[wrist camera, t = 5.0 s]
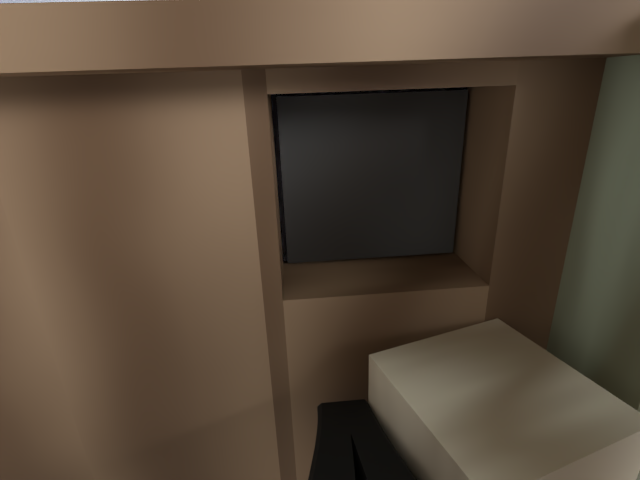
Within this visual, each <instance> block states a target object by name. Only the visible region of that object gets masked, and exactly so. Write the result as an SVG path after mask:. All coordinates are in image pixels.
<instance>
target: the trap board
mask: <svg viewBox="0 0 640 480" xmlns="http://www.w3.org/2000/svg"><path fill="white" fill-rule="evenodd" d="M453 87H467V90H442V91H416V92H389V93H362V94H335V95H308V96H281V97H276V99H277V114H278V128H279V143H280V157H281V172H282V186H283V201H284V215H285V230H286V245H287V259H288V261H283V253H282V239H281V225H280V212H279V198H278V185H277V171H276V157H275V144H274V130H273V116H272V103H271V94H290V93H317V92H344V91H372V90H399V89H426V88H453ZM497 318H498V319H500V320H501V321H503V322H504V323H506V324H507V325H509V326H510V327H512V328H513V329H515V330H516V331H518V332H519V333H521V334H522V335H524V336H525V337H527V338H528V339H530V340H531V341H533V342H534V343H536V344H537V345H539V346H540V347H542V348H543V349H545V350H546V351H548V352H549V353H551V354H552V355H554V356H555V357H557V358H558V359H560V360H561V361H563V362H564V363H566V364H567V365H569V366H570V367H572V368H573V369H575V370H576V371H578V372H580V373H581V374H583V375H584V376H586V377H587V378H589V379H590V380H592V381H593V382H595V383H596V384H598V385H599V386H601V387H602V388H604V389H605V390H607V391H608V392H610V393H611V394H613V395H614V396H616V397H617V398H619V399H620V400H622V401H623V402H625V403H626V404H628V405H629V406H631V407H632V408H634V409H635V410H637V411H638V412H640V0H147V1H98V2H49V3H0V480H308V478H309V473H310V468H311V463H312V458H313V453H314V448H315V441H316V434H317V424H318V413H317V406H319V405H320V404H321V403H326V402H337V401H349V400H360V399H365V400H366V401H367V402H368V388H369V355H370V354H373V353H377V352H380V351H384V350H387V349H391V348H394V347H398V346H402V345H405V344H409V343H412V342H416V341H419V340H423V339H426V338H430V337H433V336H437V335H440V334H444V333H447V332H451V331H454V330H458V329H461V328H465V327H468V326H472V325H475V324H479V323H483V322H486V321H490V320H493V319H497ZM636 480H640V471H639V473H638V476H637V479H636Z"/></svg>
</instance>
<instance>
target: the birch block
mask: <svg viewBox="0 0 640 480" xmlns="http://www.w3.org/2000/svg"><path fill="white" fill-rule="evenodd" d="M368 404H369V405H370V407H371V409H372V411H373V413H374V415H375V416H376V418H377V420H378V422H379V423H380V425H381V427H382V428H383V430H384V432H385V433H386V435H387V436H388V438H389V440H390V441H391V443H392V444H393V446H394V447H395V449H396V450H397V452H398V453H399V455H400V456H401V458H402V459H403V460H404V462H405V463H406V465H407V466H408V468H409V469H410V470H411V472H412V473H413V475H414V476H415V477H416V479H417V480H636V479H637V476H638V473H639V471H640V412H638V411H637V410H635V409H634V408H632V407H631V406H629V405H628V404H626V403H625V402H623V401H622V400H620V399H619V398H617V397H616V396H614V395H613V394H611V393H610V392H608V391H607V390H605V389H604V388H602V387H601V386H599V385H598V384H596V383H595V382H593V381H592V380H590V379H589V378H587V377H586V376H584V375H583V374H581V373H580V372H578V371H576V370H575V369H573V368H572V367H570V366H569V365H567V364H566V363H564V362H563V361H561V360H560V359H558V358H557V357H555V356H554V355H552V354H551V353H549V352H548V351H546V350H545V349H543V348H542V347H540V346H539V345H537V344H536V343H534V342H533V341H531V340H530V339H528V338H527V337H525V336H524V335H522V334H521V333H519V332H518V331H516V330H515V329H513V328H512V327H510V326H509V325H507V324H506V323H504V322H503V321H501V320H500V319H498V318H497V319H493V320H490V321H486V322H483V323H479V324H475V325H472V326H468V327H465V328H461V329H458V330H454V331H451V332H447V333H444V334H440V335H437V336H433V337H430V338H426V339H423V340H419V341H416V342H412V343H409V344H405V345H402V346H398V347H394V348H391V349H387V350H384V351H380V352H377V353H373V354H370V355H369V388H368Z"/></svg>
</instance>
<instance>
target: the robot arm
mask: <svg viewBox="0 0 640 480" xmlns="http://www.w3.org/2000/svg"><path fill="white" fill-rule="evenodd" d="M317 413H318V424H317V434H316V441H315V448H314V453H313V458H312V463H311V468H310V473H309V478H308V480H417V479H416V477H415V476H414V475H413V473H412V472H411V470H410V469H409V468H408V466H407V465H406V463H405V462H404V460H403V459H402V458H401V456H400V455H399V453H398V452H397V450H396V449H395V447H394V446H393V444H392V443H391V441H390V440H389V438H388V436H387V435H386V433H385V432H384V430H383V428H382V427H381V425H380V423H379V422H378V420H377V418H376V416H375V415H374V413H373V411H372V409H371V407H370V405H369V404H368V402H367V401H366V400H365V399H360V400H349V401H337V402H326V403H321V404H320V405H319V406H317Z"/></svg>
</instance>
